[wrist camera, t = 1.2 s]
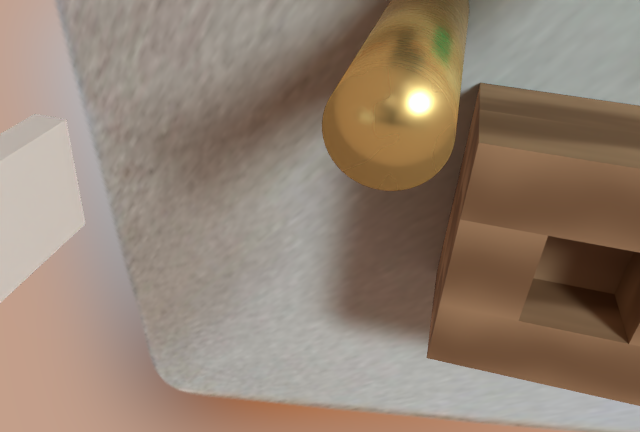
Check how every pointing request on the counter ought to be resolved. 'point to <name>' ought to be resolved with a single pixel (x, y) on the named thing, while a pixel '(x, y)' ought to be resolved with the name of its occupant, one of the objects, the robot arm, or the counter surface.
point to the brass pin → (400, 96)
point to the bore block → (545, 245)
